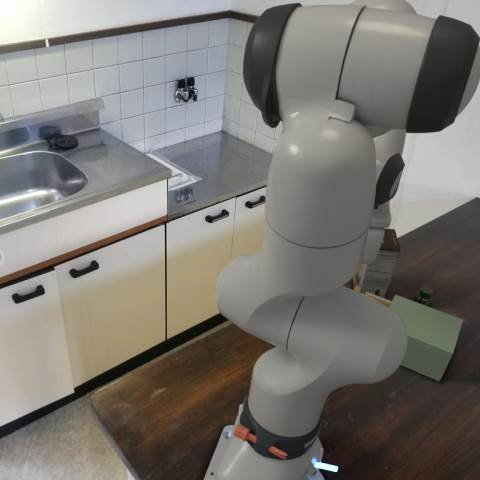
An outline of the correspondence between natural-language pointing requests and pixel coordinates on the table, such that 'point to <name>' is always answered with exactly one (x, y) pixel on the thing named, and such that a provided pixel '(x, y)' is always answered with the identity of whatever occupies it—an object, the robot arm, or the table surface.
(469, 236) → the table surface
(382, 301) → the drawer
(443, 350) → the cabinet
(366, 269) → the coffee box
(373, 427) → the table surface
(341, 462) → the table surface
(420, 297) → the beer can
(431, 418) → the table surface
